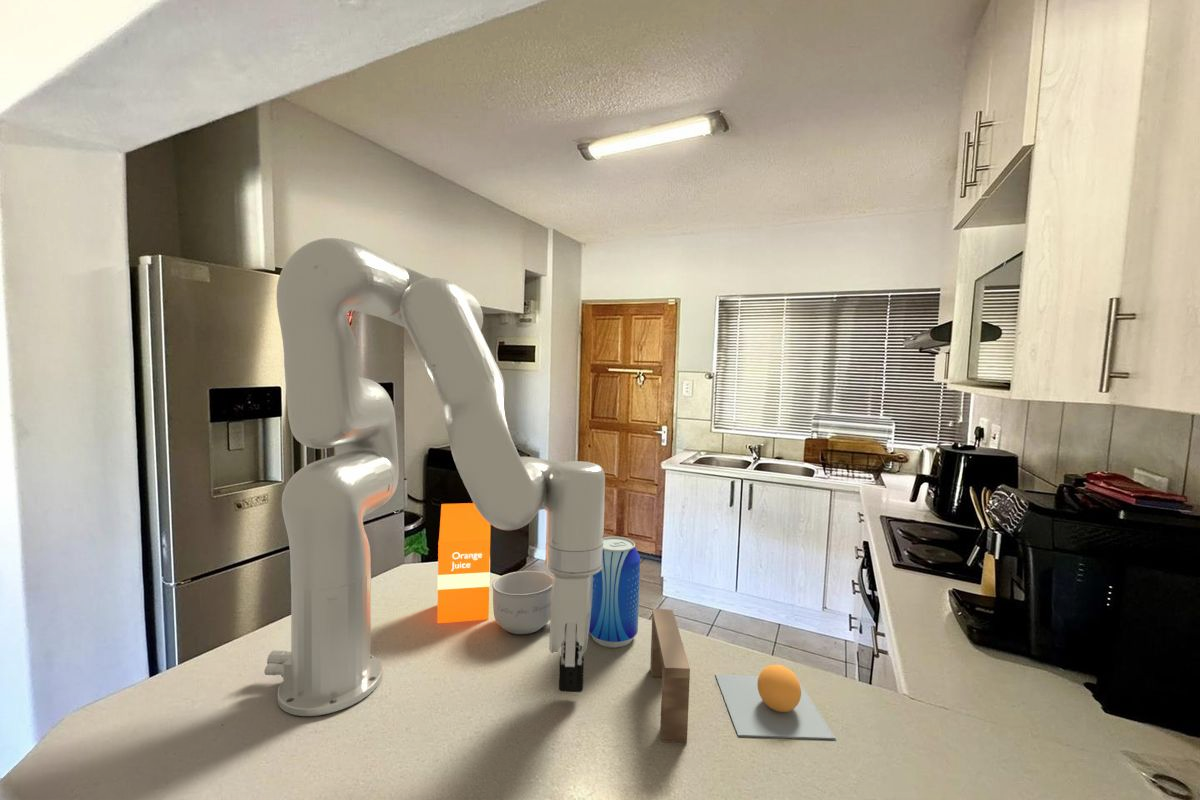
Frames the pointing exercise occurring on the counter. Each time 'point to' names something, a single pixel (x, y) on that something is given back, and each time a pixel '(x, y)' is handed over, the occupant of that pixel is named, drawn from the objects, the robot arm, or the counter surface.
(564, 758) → the counter surface
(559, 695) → the counter surface
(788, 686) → the ball
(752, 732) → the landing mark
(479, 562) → the orange juice
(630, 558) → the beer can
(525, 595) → the teacup
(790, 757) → the counter surface
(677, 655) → the bridge
